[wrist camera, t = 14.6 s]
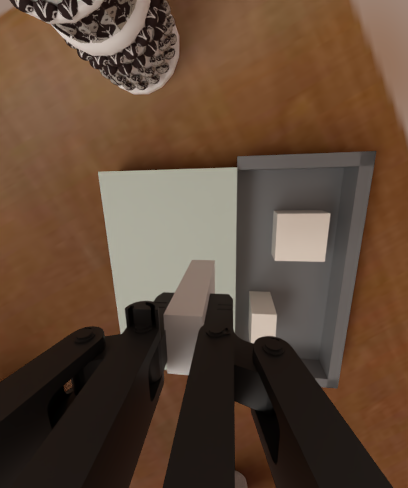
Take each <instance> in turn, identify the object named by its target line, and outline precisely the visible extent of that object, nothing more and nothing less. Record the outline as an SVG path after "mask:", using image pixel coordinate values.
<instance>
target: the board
mask: <svg viewBox="0 0 408 488" xmlns="http://www.w3.org/2000/svg"><path fill="white" fill-rule="evenodd" d="M98 176H99V183H100V190H101V197H102V204H103V211H104V218H105V225H106V233H107V240H108V247H109V254H110V261H111V268H112V275H113V282H114V289H115V297H116V304H117V311H118V318H119V325H120V332H121V334H122V333H123V332H124V330H125V329H126V328H127V324H126V315H125V308H126V307H127V306H128V305H130V304H132V303H135V302H139V301H154V300H155V298H156V297H157V296H158V295H160V294H161V293H163V292H170V293H175V291H176V289H177V288H178V286H179V284H180V282H181V280H182V278H183V276H184V274H185V272H186V270H187V268H188V266H189V265H190V263H191V261H192V260H215V294H229V295H230V296H231V297H232V298H233V329H234V332H235V296H236V223H237V167H233V168H202V169H171V170H139V171H108V172H98ZM164 370H167V363H166V366H165V369H164Z"/></svg>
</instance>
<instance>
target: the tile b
mask: <svg viewBox="0 0 408 488" xmlns="http://www.w3.org/2000/svg"><path fill="white" fill-rule="evenodd" d="M330 214H331V213H328V212H325V211H322V210H281V211H274V213H273V231H272V250H271V254H272V256H273V258H274V260H275V261H308V262H325V256H326V247H327V239H328V231H329V222H330Z"/></svg>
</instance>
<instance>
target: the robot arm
mask: <svg viewBox="0 0 408 488" xmlns="http://www.w3.org/2000/svg"><path fill="white" fill-rule="evenodd" d="M125 315H126V324H127V328H126V329H125V330H124V332H123V333H122V334H118V335H112V336H104V331H103V329H101V328H99V327H93V326H92V327H85V328H82V329H79V330H77V331H75V332H73V333H71V334H70V335H68V336H67V337H66V338H64V339H63V340H61V341H60V342H58V343H57V344H55V345H54V346H52V347H51V348H50V349H48V350H47V351H45V352H44V353H42V354H41V355H39V356H38V357H36V358H35V359H33V360H32V361H31V362H29V363H28V364H26V365H25V366H23V367H22V368H20V369H19V370H17V371H16V372H15V373H13V374H12V375H10V376H9V377H7V378H6V379H4V380H3V381H1V382H0V488H129V485H130V482H131V479H132V476H133V473H134V470H135V467H136V465H137V462H138V459H139V456H140V453H141V450H142V447H143V444H144V441H145V438H146V435H147V432H148V429H149V426H150V423H151V420H152V417H153V414H154V411H155V408H156V405H157V402H158V399H159V396H160V393H161V390H162V387H163V384H164V373H163V372H164V369H165V366H166V363H167V373H169V374H181V375H188V380H187V384H186V389H185V393H184V397H183V402H182V406H181V410H180V415H179V419H178V423H177V428H176V432H175V437H174V441H173V445H172V450H171V454H170V458H169V463H168V467H167V471H166V476H165V480H164V484H163V488H235V430H234V401H236V402H238V403H240V404H243V405H245V406H248V407H250V408H251V413H252V416H253V419H254V422H255V425H256V428H257V431H258V434H259V437H260V440H261V443H262V446H263V449H264V452H265V455H266V458H267V461H268V464H269V467H270V470H271V473H272V476H273V479H274V482H275V485H276V488H393V487H392V485H391V484H390V483H389V481H388V480H387V478H386V477H385V476H384V474H383V473H382V471H381V470H380V469H379V467H378V466H377V464H376V463H375V462H374V460H373V459H372V458H371V456H370V455H369V453H368V452H367V451H366V449H365V448H364V446H363V445H362V444H361V442H360V441H359V439H358V438H357V437H356V435H355V434H354V432H353V431H352V430H351V428H350V427H349V425H348V424H347V423H346V421H345V420H344V419H343V417H342V416H341V414H340V413H339V412H338V410H337V409H336V407H335V406H334V405H333V403H332V402H331V400H330V399H329V398H328V396H327V395H326V393H325V392H324V391H323V389H322V388H321V386H320V385H319V384H318V382H317V381H316V380H315V378H314V377H313V375H312V374H311V373H310V371H309V370H308V368H307V367H306V366H305V364H304V363H303V361H302V360H301V359H300V357H299V356H298V354H297V353H296V352H295V350H294V349H293V348H292V346H291V345H290V344H289V343H288V342H286V341H284V340H283V339H281V338H278V337H274V336H264V337H260V338H258V339H257V340H255V342H254V343H250V342H247V341H245V340H242V339H241V338H239V337H238V336H237V335H236V334H235V332H234V329H233V298H232V297H231V296H230V295H229V294H215V260H192V261H191V263H190V265H189V266H188V268H187V270H186V272H185V274H184V276H183V278H182V280H181V282H180V284H179V286H178V288H177V289H176V291H175V293H170V292H163V293H161V294H160V295H158V296H157V297H156V298H155V300H154V301H139V302H135V303H132V304H130V305H128V306H127V307H126V308H125ZM70 379H71V381H72V386H73V387H72V388H70V389H69V390H68V391H66V392H65V391H64V387H63V385H65V384H66V383H67V382H68V381H69V380H70Z"/></svg>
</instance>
